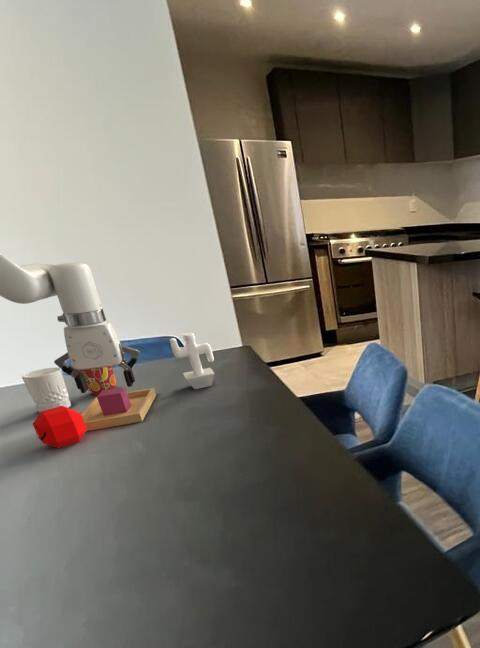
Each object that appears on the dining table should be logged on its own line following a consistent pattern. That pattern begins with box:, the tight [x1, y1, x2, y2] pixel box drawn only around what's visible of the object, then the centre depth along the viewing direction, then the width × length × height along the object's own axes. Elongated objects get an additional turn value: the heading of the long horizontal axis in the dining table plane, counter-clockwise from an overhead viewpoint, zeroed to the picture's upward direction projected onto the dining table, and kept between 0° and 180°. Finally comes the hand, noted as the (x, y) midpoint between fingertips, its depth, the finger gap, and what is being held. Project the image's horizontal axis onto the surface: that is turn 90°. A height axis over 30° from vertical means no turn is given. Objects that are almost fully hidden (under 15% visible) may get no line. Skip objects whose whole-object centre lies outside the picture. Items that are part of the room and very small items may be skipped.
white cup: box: [21, 367, 72, 413], centre depth 126 cm, size 8×8×10 cm
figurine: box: [169, 331, 215, 390], centre depth 136 cm, size 7×9×15 cm
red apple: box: [32, 406, 88, 449], centre depth 106 cm, size 8×8×8 cm
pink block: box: [96, 386, 131, 416], centre depth 121 cm, size 5×5×5 cm
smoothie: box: [81, 366, 118, 396], centre depth 135 cm, size 8×8×20 cm
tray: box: [80, 387, 157, 432], centre depth 122 cm, size 14×20×2 cm
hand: (108, 388), depth 120 cm, fingers open, 9 cm apart
